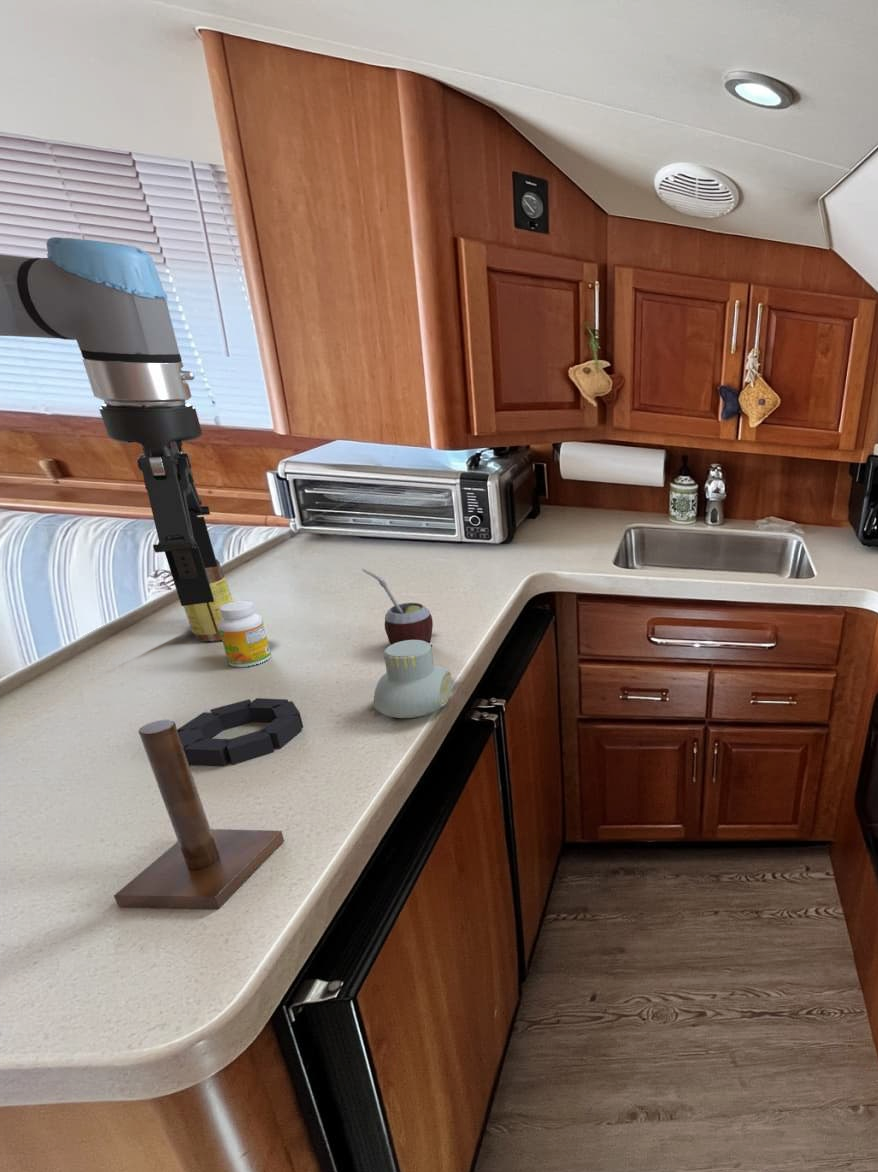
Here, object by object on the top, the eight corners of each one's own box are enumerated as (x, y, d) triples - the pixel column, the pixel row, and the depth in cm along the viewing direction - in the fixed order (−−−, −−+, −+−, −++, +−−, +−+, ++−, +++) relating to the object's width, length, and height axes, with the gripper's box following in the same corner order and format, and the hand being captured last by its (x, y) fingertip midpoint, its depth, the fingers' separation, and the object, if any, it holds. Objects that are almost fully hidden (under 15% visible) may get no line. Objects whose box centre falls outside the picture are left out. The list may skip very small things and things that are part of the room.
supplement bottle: (220, 663, 101) (204, 608, 98) (256, 650, 106) (241, 596, 103) (244, 670, 100) (229, 614, 96) (280, 656, 105) (266, 602, 101)
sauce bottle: (242, 625, 114) (213, 518, 106) (243, 638, 110) (213, 528, 102) (192, 633, 110) (159, 522, 102) (191, 647, 105) (156, 532, 98)
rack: (118, 907, 60) (52, 754, 54) (196, 839, 68) (148, 699, 62) (219, 909, 61) (166, 757, 54) (284, 841, 69) (245, 702, 63)
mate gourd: (443, 651, 111) (431, 570, 106) (393, 665, 105) (378, 581, 100) (425, 637, 115) (412, 559, 110) (376, 650, 110) (361, 568, 104)
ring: (154, 764, 79) (148, 747, 78) (230, 711, 90) (226, 696, 89) (258, 767, 80) (253, 751, 79) (321, 714, 91) (317, 700, 90)
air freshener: (438, 725, 91) (429, 664, 87) (373, 730, 89) (360, 667, 85) (456, 687, 101) (448, 630, 97) (397, 690, 98) (387, 632, 95)
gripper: (186, 416, 62) (241, 613, 70) (199, 391, 80) (241, 551, 88) (74, 417, 58) (146, 627, 66) (114, 390, 75) (167, 558, 83)
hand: (201, 584), depth 77 cm, fingers open, 13 cm apart
